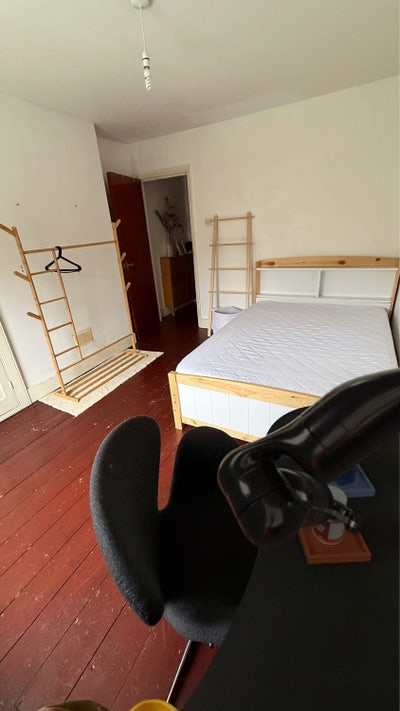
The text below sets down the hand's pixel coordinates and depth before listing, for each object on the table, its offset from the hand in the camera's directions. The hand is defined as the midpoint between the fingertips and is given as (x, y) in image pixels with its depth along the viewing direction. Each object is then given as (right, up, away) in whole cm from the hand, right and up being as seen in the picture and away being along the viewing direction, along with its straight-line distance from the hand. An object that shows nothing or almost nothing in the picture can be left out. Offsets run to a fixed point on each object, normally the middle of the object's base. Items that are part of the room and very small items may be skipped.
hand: (326, 501), depth 57 cm
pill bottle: (+3, -10, +7) cm, 13 cm away
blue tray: (+12, -4, +20) cm, 23 cm away
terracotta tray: (+3, -10, +7) cm, 13 cm away
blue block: (+12, -3, +19) cm, 23 cm away
